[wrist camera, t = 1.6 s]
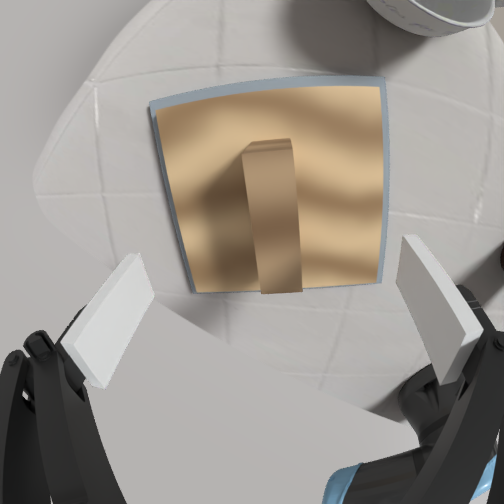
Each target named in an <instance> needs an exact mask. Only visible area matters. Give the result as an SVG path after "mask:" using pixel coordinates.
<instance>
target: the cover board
mask: <svg viewBox="0 0 504 504" xmlns="http://www.w3.org/2000/svg"><path fill="white" fill-rule="evenodd" d="M155 111H156V117H157V123H158V128H159V134H160V139H161V145H162V150H163V155H164V160H165V165H166V169H167V174H168V179H169V184H170V188H171V193H172V197H173V202H174V206H175V210H176V214H177V219H178V223H179V227H180V231H181V235H182V239H183V243H184V247H185V251H186V255H187V259H188V262H189V266H190V270H191V273H192V277H193V281H194V284H195V288H196V291H197V292H230V291H255V290H261V294H274V293H293V292H303V289H302V288H311V287H326V286H340V285H353V284H366V283H376V281H377V273H378V264H379V253H380V242H381V228H382V210H383V129H382V112H381V98H380V88H379V87H370V86H317V87H297V88H283V89H272V90H263V91H254V92H246V93H239V94H232V95H226V96H220V97H214V98H208V99H203V100H198V101H193V102H188V103H183V104H179V105H175V106H170V107H166V108H162V109H158V110H155Z"/></svg>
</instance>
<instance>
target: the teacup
mask: <svg viewBox="0 0 504 504" xmlns="http://www.w3.org/2000/svg"><path fill="white" fill-rule="evenodd" d="M366 1H367V2H368V3H369V4H370V5H371V7H372V8H373V9H374V10H375V11H376V12H377V13H379V14H380V15H381V16H382V17H383V18H385V19H386V20H388V21H389V22H391V23H392V24H394V25H396V26H398V27H400V28H402V29H404V30H406V31H408V32H411V33H414V34H418V35H422V36H429V37H441V36H447V35H451V34H454V33H457V32H460V31H463V30H466V29H469V28H475V27H480V26H483V25H485V24H486V23H487V22H488V21H490V19H491V18H492V16H493V13H494V10H495V7H504V0H366Z"/></svg>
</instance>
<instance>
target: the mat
mask: <svg viewBox="0 0 504 504" xmlns="http://www.w3.org/2000/svg"><path fill="white" fill-rule="evenodd" d="M317 86H370V87H379V88H380V98H381V112H382V129H383V210H382V228H381V242H380V253H379V264H378V273H377V281H376V283H366V284H378V283H382V275H383V267H384V258H385V249H386V237H387V224H388V208H389V177H390V151H389V122H388V106H387V93H386V83H385V77H379V76H355V75H325V76H300V77H285V78H274V79H264V80H255V81H248V82H240V83H234V84H227V85H221V86H215V87H210V88H205V89H200V90H195V91H190V92H186V93H181V94H177V95H173V96H169V97H165V98H161V99H157V100H153V101H150V102H149V105H150V111H151V117H152V122H153V128H154V133H155V139H156V144H157V149H158V154H159V159H160V164H161V168H162V173H163V178H164V182H165V187H166V191H167V196H168V200H169V204H170V209H171V213H172V217H173V221H174V225H175V229H176V233H177V237H178V241H179V245H180V248H181V252H182V256H183V260H184V263H185V267H186V271H187V274H188V278H189V281H190V285H191V288H192V292H193V294H196V293H230V292H255V291H261V290H255V291H230V292H197V291H196V288H195V284H194V281H193V277H192V273H191V270H190V266H189V262H188V259H187V255H186V251H185V247H184V243H183V239H182V235H181V231H180V227H179V223H178V219H177V214H176V210H175V206H174V202H173V197H172V193H171V188H170V184H169V179H168V174H167V169H166V165H165V160H164V155H163V150H162V145H161V139H160V134H159V128H158V123H157V117H156V111H155V110H158V109H162V108H166V107H170V106H175V105H179V104H183V103H188V102H193V101H198V100H203V99H208V98H214V97H220V96H226V95H232V94H239V93H246V92H254V91H263V90H272V89H283V88H297V87H317ZM366 284H353V285H340V286H354V285H366ZM340 286H326V287H340ZM326 287H311V288H326ZM311 288H302V289H311Z"/></svg>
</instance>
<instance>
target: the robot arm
mask: <svg viewBox="0 0 504 504" xmlns="http://www.w3.org/2000/svg"><path fill="white" fill-rule="evenodd" d="M396 284H397V286H398V288H399V290H400V292H401V294H402V296H403V298H404V300H405V302H406V304H407V307H408V309H409V311H410V313H411V315H412V317H413V320H414V322H415V324H416V326H417V329H418V331H419V333H420V336H421V338H422V340H423V343H424V345H425V348H426V350H427V353H428V355H429V358H430V360H431V363H432V364H431V365H429V366H428V367H426V368H424V369H423V370H421V371H420V372H418V373H417V374H416V375H415V376H413V377H412V378H411V379H410V380H409V381H408V382H407V383H406V384H405V385H404V387H403V388H402V389H401V391H400V393H399V397H398V400H399V404H400V408H401V411H402V413H403V415H404V416H405V418H406V419H407V420H408V422H409V423H410V425H411V426H412V428H413V429H414V431H415V432H416V434H417V436H418V440H419V444H420V447H419V448H415V449H413V450H409V451H406V452H403V453H400V454H397V455H393V456H390V457H387V458H383V459H379V460H376V461H372V462H368V463H359V464H358V465H355V466H351V467H347V468H343V469H340V470H337V471H336V472H334V473H333V475H332V476H331V477H330V479H329V480H328V483H327V485H326V488H325V492H324V496H323V501H322V504H469V502H470V501H471V500H473V499H475V498H476V497H478V496H480V495H481V494H482V493H484V492H486V491H487V490H489V489H490V492H489V496H488V500H487V504H504V332H502V331H496V329H495V327H494V326H493V324H492V323H491V321H490V320H489V318H488V316H487V315H486V313H485V312H484V310H483V309H482V308H481V306H480V304H479V303H478V301H476V298H475V297H474V296H473V294H472V293H471V291H469V290H468V289H467V288H465V287H464V286H463V285H457V286H455V284H454V283H453V282H452V280H451V279H450V277H449V276H448V275H447V273H446V272H445V270H444V269H443V268H442V266H441V265H440V264H439V262H438V261H437V260H436V258H435V257H434V256H433V254H432V253H431V252H430V251H429V249H428V248H427V247H426V246H425V244H424V243H423V242H422V241H421V239H420V238H419V237H418V236H417V234H412V235H403V236H402V245H401V253H400V260H399V267H398V273H397V279H396ZM154 296H155V295H154V292H153V289H152V287H151V284H150V281H149V279H148V276H147V273H146V270H145V267H144V265H143V262H142V259H141V256H140V253H135V254H127V256H126V257H125V258H124V259H123V260H122V261H121V263H120V264H119V265H118V266H117V268H116V269H115V270H114V271H113V272H112V274H111V275H110V276H109V277H108V279H107V280H106V281H105V283H104V284H103V285H102V286H101V288H100V289H99V290H98V291H97V293H96V294H95V295H94V296H93V298H92V299H91V300H90V302H89V303H88V304H87V305H86V306H84V307H83V308H82V309H81V310H80V311H79V312H78V313H77V314H76V316H75V317H74V320H72V321H71V322H70V324H69V326H67V328H66V329H65V331H64V332H63V334H62V335H61V336H60V338H59V339H58V341H57V342H56V343H55V345H54V343H53V342H52V340H51V339H50V338H49V336H48V334H47V333H46V332H45V331H44V330H39V331H36V332H34V333H32V334H31V335H30V336H29V337H28V338H27V339H26V340H25V342H24V345H23V347H24V348H25V350H26V351H27V352H28V354H29V355H30V357H29V358H27V357H26V356H25V354H24V353H23V351H21V350H15V351H12V352H11V353H10V354H9V355H8V356H7V357H6V359H5V361H4V364H3V367H2V371H1V374H0V504H51V498H52V502H53V504H127V503H126V501H125V499H124V497H123V495H122V492H121V490H120V488H119V486H118V483H117V481H116V479H115V476H114V474H113V471H112V469H111V466H110V464H109V461H108V459H107V456H106V453H105V450H104V447H103V445H102V442H101V439H100V435H99V432H98V429H97V426H96V423H95V419H94V416H93V413H92V409H91V405H90V401H89V397H88V394H87V390H86V387H85V386H84V384H83V382H84V380H85V379H87V380H88V382H89V383H90V384H91V385H92V387H97V388H101V389H106V388H107V385H108V383H109V381H110V379H111V377H112V375H113V373H114V371H115V369H116V367H117V365H118V363H119V361H120V359H121V357H122V355H123V353H124V351H125V350H126V348H127V345H128V344H129V342H130V340H131V338H132V336H133V334H134V332H135V330H136V329H137V327H138V325H139V323H140V321H141V319H142V318H143V316H144V314H145V312H146V310H147V309H148V307H149V305H150V303H151V301H152V300H153V298H154ZM23 391H24V392H25V393H26V394H27V395H28V400H26V399H25V398H24V397H23V396H22V393H23ZM499 429H500V431H499ZM498 432H499V441H498V444H497V441H496V438H497V435H498ZM50 495H51V498H50Z"/></svg>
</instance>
